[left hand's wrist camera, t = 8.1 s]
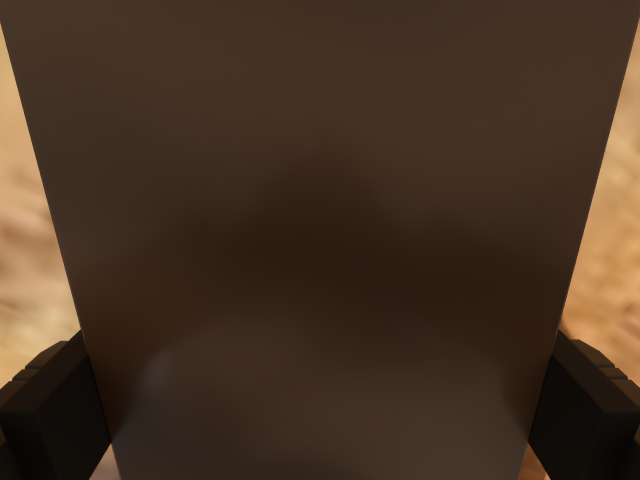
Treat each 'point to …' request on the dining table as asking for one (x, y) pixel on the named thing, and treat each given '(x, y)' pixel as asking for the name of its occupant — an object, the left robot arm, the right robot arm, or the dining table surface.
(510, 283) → the wooden chest box
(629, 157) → the dining table surface
